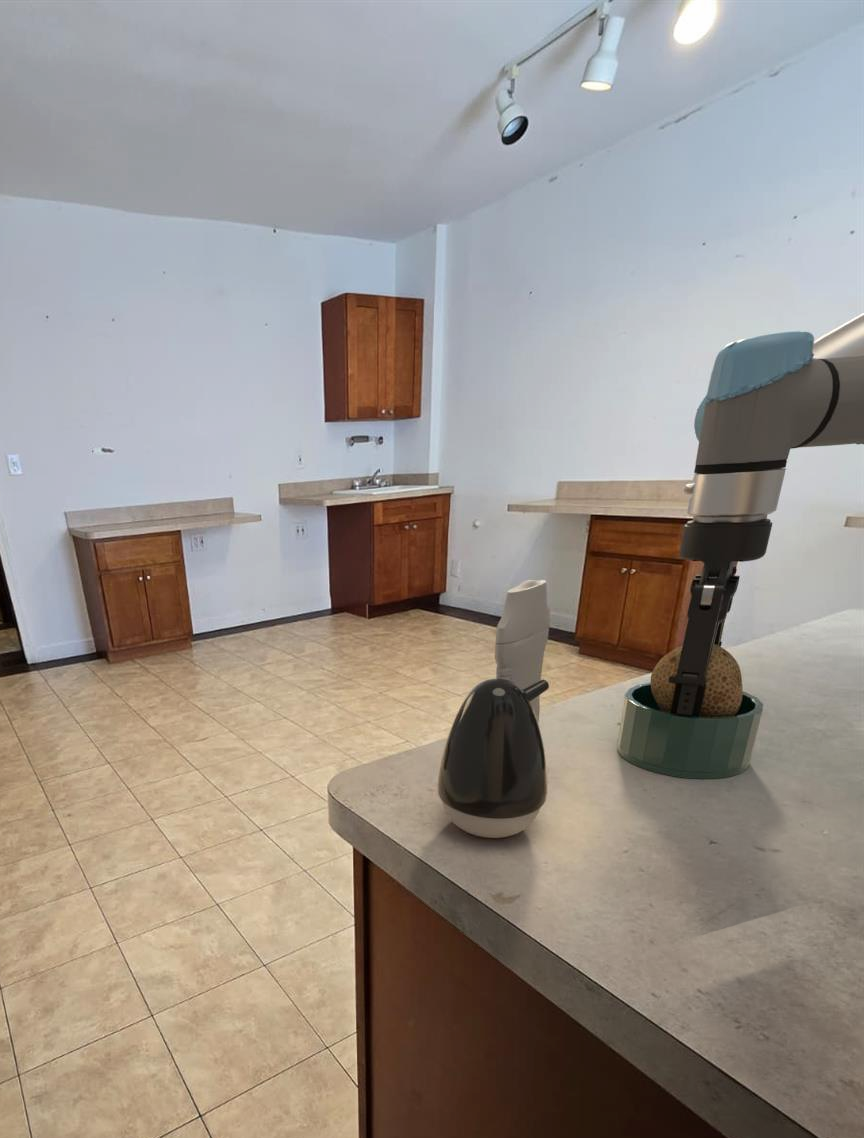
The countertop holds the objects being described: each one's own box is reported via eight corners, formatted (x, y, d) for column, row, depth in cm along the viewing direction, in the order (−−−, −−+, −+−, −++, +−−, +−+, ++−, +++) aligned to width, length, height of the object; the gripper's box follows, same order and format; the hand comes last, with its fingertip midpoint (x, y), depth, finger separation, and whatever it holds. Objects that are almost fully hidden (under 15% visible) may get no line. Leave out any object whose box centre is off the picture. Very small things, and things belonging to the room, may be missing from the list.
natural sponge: (645, 710, 79) (659, 630, 75) (731, 718, 75) (750, 634, 71) (640, 735, 72) (654, 649, 68) (734, 746, 68) (755, 654, 64)
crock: (729, 736, 79) (742, 682, 76) (765, 783, 68) (782, 722, 65) (610, 731, 83) (618, 679, 80) (625, 774, 72) (635, 716, 69)
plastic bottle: (516, 756, 78) (532, 571, 69) (548, 764, 76) (570, 573, 66) (471, 786, 72) (482, 587, 63) (505, 797, 69) (522, 590, 60)
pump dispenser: (567, 838, 61) (587, 685, 54) (470, 861, 58) (479, 704, 52) (505, 793, 70) (515, 658, 63) (419, 812, 67) (421, 673, 61)
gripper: (699, 510, 74) (665, 693, 84) (668, 530, 59) (631, 752, 68) (778, 507, 70) (734, 701, 79) (767, 528, 54) (713, 766, 64)
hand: (686, 725), depth 74 cm, fingers closed on natural sponge, 9 cm apart
